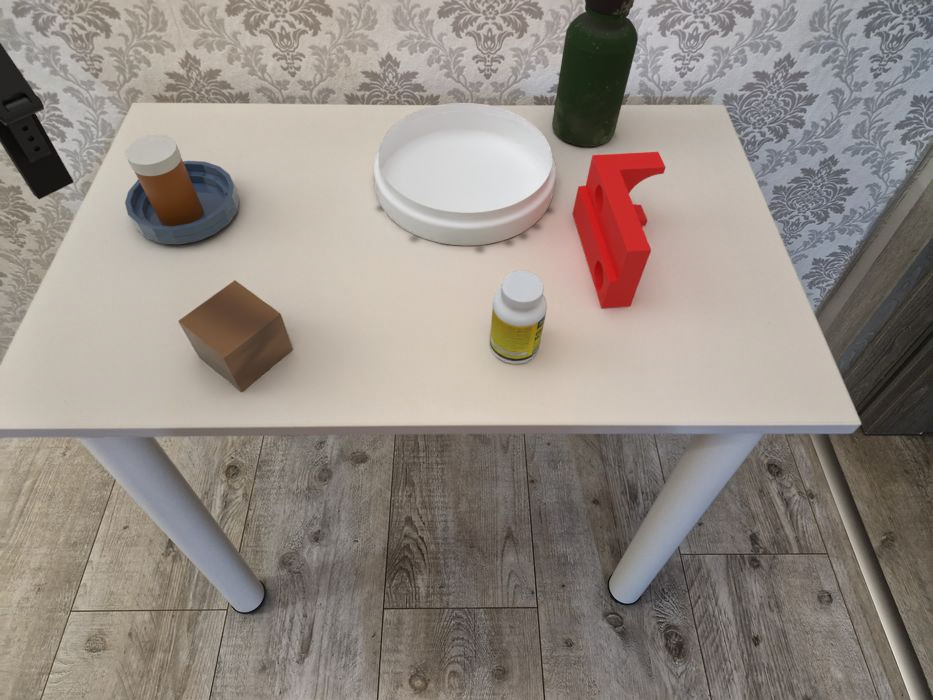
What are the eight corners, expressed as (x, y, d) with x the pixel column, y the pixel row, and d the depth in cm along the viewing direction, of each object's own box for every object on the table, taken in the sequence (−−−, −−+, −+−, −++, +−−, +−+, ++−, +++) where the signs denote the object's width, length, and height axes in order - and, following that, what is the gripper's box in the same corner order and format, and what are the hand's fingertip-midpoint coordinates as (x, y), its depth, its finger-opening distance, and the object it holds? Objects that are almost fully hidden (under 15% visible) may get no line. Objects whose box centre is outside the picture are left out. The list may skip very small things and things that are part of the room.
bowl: (146, 261, 83) (135, 242, 80) (128, 196, 90) (118, 176, 88) (251, 229, 87) (245, 211, 84) (226, 169, 94) (219, 150, 92)
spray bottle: (546, 141, 100) (570, -23, 80) (558, 106, 106) (583, -56, 86) (609, 154, 99) (650, -11, 78) (618, 117, 105) (658, -45, 84)
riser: (241, 392, 71) (223, 358, 66) (198, 356, 74) (177, 320, 68) (293, 349, 75) (280, 313, 69) (250, 316, 78) (234, 279, 72)
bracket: (585, 155, 82) (658, 151, 83) (572, 214, 90) (639, 210, 91) (619, 252, 72) (702, 246, 72) (601, 308, 80) (676, 302, 81)
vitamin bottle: (163, 235, 85) (129, 169, 76) (154, 207, 88) (121, 141, 79) (208, 221, 87) (180, 156, 78) (198, 195, 90) (171, 129, 81)
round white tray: (556, 251, 86) (562, 221, 81) (364, 242, 86) (359, 212, 82) (549, 133, 102) (554, 103, 97) (386, 126, 102) (383, 95, 97)
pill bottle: (540, 366, 74) (552, 308, 65) (489, 365, 74) (494, 307, 65) (537, 326, 78) (549, 265, 69) (488, 324, 78) (494, 264, 69)
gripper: (-21, -161, 29) (144, 199, 46) (-233, -270, 37) (-26, 69, 54) (-210, -124, 25) (47, 252, 42) (-397, -255, 33) (-120, 103, 50)
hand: (6, 149), depth 48 cm, fingers open, 13 cm apart
